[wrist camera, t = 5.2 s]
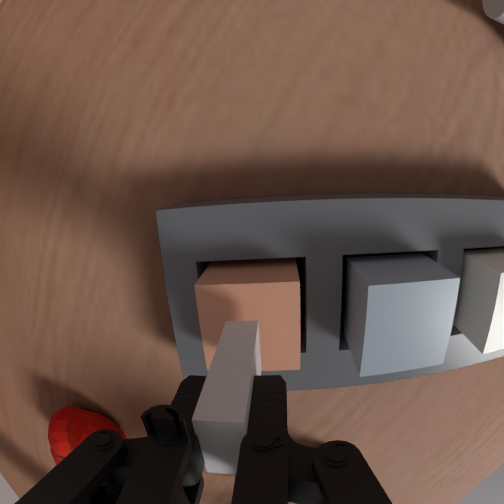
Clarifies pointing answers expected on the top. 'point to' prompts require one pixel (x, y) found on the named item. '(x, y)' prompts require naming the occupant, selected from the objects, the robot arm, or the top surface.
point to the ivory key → (482, 299)
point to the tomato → (74, 429)
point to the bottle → (494, 9)
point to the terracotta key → (253, 306)
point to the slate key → (398, 312)
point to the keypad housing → (321, 263)
